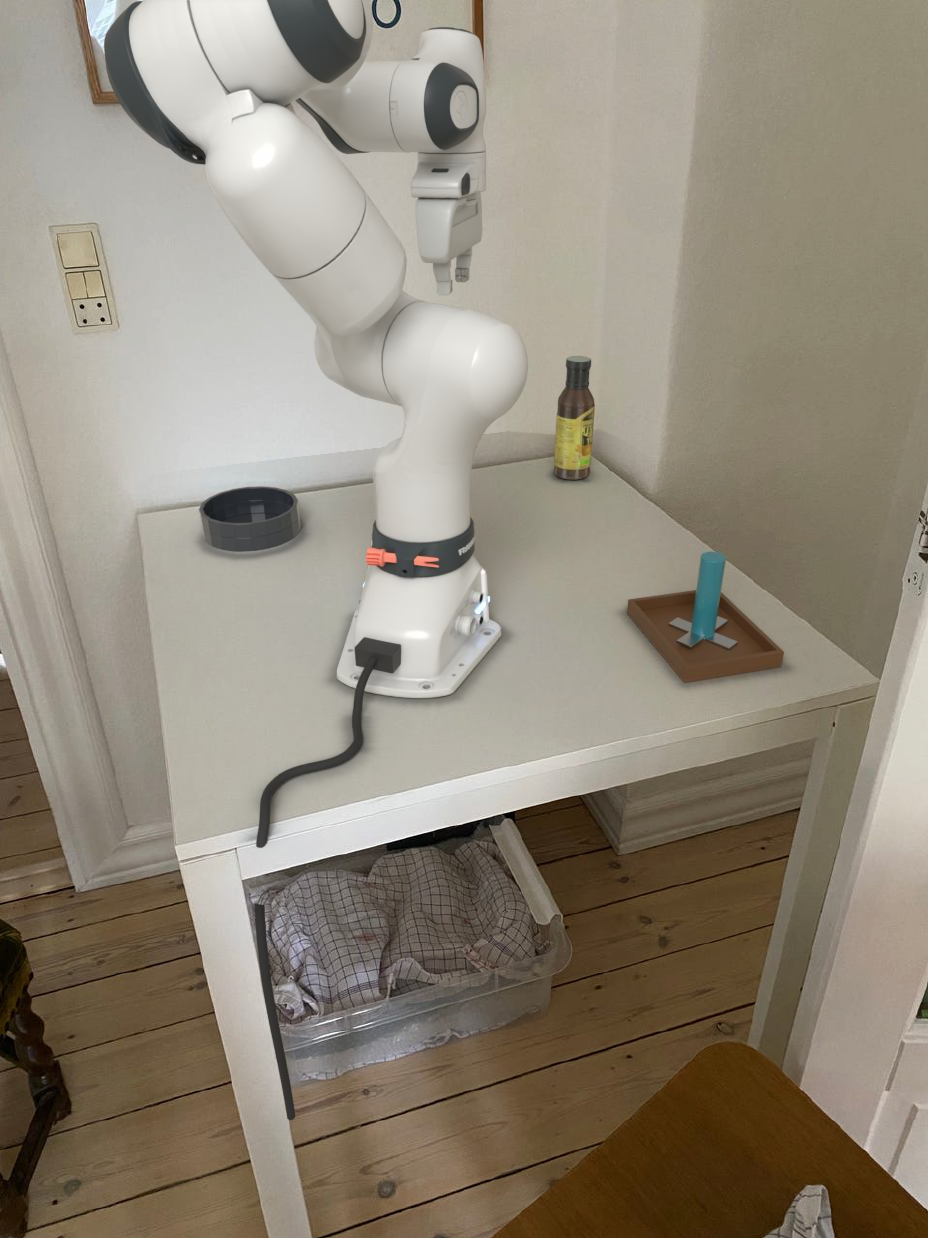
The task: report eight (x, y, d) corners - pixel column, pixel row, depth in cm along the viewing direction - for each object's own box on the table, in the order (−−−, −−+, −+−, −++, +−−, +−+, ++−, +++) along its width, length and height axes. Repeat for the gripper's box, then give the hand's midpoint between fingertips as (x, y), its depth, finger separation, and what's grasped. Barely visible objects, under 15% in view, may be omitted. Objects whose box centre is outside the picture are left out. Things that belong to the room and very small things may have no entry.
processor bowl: (277, 560, 131) (273, 528, 128) (186, 550, 134) (181, 519, 131) (315, 520, 143) (312, 490, 140) (231, 512, 146) (227, 482, 143)
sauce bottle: (586, 483, 155) (593, 364, 145) (550, 479, 156) (554, 362, 146) (593, 470, 160) (601, 354, 150) (558, 466, 162) (563, 352, 152)
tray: (781, 667, 106) (784, 651, 105) (684, 683, 103) (686, 667, 102) (713, 601, 119) (716, 587, 118) (626, 613, 117) (627, 599, 116)
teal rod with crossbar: (653, 635, 111) (661, 557, 106) (691, 610, 116) (701, 534, 111) (714, 661, 106) (726, 580, 101) (751, 633, 111) (764, 555, 106)
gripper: (449, 169, 129) (450, 273, 136) (406, 183, 112) (410, 301, 119) (493, 170, 128) (492, 275, 135) (456, 183, 111) (457, 303, 118)
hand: (453, 287), depth 127 cm, fingers open, 8 cm apart
